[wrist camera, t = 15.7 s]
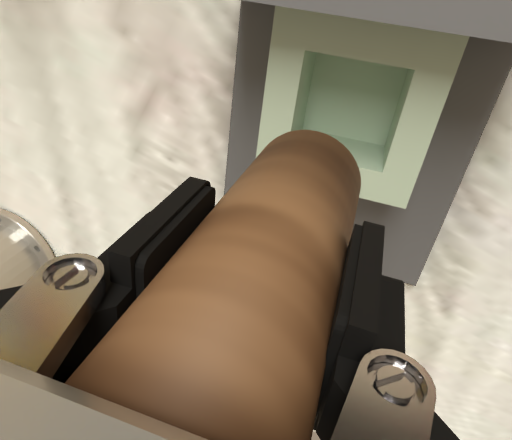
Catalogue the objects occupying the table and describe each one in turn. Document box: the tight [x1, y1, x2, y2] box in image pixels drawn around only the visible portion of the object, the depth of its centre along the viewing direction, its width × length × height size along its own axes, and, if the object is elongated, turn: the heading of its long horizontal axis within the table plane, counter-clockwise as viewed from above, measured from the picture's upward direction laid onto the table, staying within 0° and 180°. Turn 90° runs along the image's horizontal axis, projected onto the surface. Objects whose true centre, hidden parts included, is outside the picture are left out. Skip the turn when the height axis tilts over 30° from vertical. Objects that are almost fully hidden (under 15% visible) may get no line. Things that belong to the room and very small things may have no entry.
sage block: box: [256, 6, 470, 209], centre depth 26 cm, size 10×10×6 cm
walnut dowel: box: [64, 130, 361, 440], centre depth 10 cm, size 4×4×12 cm
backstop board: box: [224, 0, 512, 286], centre depth 27 cm, size 22×18×11 cm
